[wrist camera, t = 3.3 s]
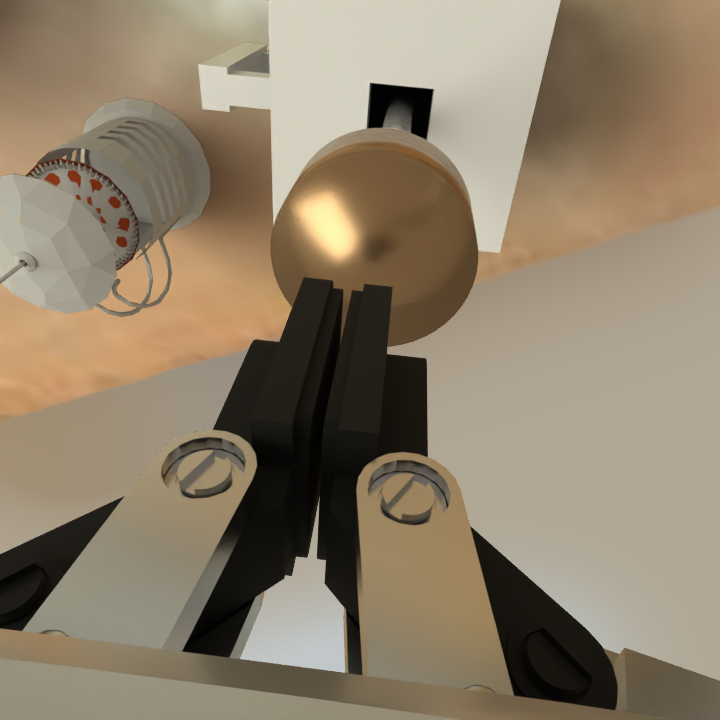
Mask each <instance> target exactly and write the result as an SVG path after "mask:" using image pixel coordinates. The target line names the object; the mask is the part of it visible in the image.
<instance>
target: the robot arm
mask: <svg viewBox="0 0 720 720" xmlns="http://www.w3.org/2000/svg"><path fill="white" fill-rule="evenodd" d="M392 290H393V287H390V286H381V285H372V284H364V288H363V291H357V290H352V293H351V297H350V302H349V307H348V311H347V316H346V321H345V325H344V330H343V335H342V340H341V327H342V311H343V294H344V292H343V289H338V288H333V280H326V279H316V278H307V277H304V278H303V280H302V283H301V286H300V288H299V291H298V294H297V296H296V299H295V302H294V304H293V307H292V310H291V312H290V315H289V318H288V320H287V323H286V326H285V328H284V331H283V334H282V336H281V339H280V342H274V341H265V340H254V341H253V342H252V344H251V345H250V348H249V350H248V352H247V355H246V357H245V359H244V361H243V363H242V366H241V368H240V370H239V373H238V375H237V377H236V379H235V381H234V383H233V386H232V388H231V390H230V392H229V395H228V397H227V399H226V402H225V404H224V406H223V408H222V410H221V413H220V415H219V417H218V419H217V422H216V424H215V426H214V428H213V430H204V431H195V432H192V433H189V434H186V435H183V436H180V437H178V438H176V439H175V440H173V441H171V442H170V443H168V444H166V445H165V446H164V447H163V448H162V449H161V450H160V451H159V452H158V453H157V454H156V456H155V457H154V458H153V460H152V461H151V462H150V464H149V465H148V466H147V467H146V469H145V470H144V471H143V473H142V474H141V475H140V477H139V478H138V479H137V481H136V482H135V483H134V485H133V486H132V487H131V488H130V490H129V491H128V492H127V494H126V495H125V496H124V497H122V498H120V499H117V500H115V501H113V502H111V503H109V504H107V505H104V506H102V507H100V508H98V509H96V510H94V511H92V512H90V513H88V514H85V515H83V516H81V517H79V518H77V519H75V520H72V521H70V522H68V523H66V524H64V525H62V526H60V527H58V528H55V529H53V530H51V531H49V532H47V533H45V534H43V535H40V536H38V537H36V538H34V539H32V540H30V541H28V542H26V543H23V544H21V545H19V546H17V547H15V548H13V549H11V550H9V551H6V552H4V553H2V554H0V720H720V681H718V680H716V679H713V678H710V677H707V676H704V675H701V674H698V673H696V672H693V671H690V670H687V669H684V668H681V667H678V666H675V665H673V664H670V663H667V662H664V661H661V660H658V659H656V658H653V657H650V656H647V655H644V654H641V653H638V652H635V651H633V650H630V649H627V648H624V649H623V650H622V652H621V653H620V654H618V653H615V652H612V651H609V650H606V649H604V648H603V647H602V646H601V645H600V644H599V642H598V641H597V640H596V639H595V638H594V637H593V636H592V635H591V634H590V632H589V631H588V630H587V629H586V628H585V627H583V626H582V625H581V624H580V623H579V622H578V621H577V620H576V619H574V618H573V617H572V616H571V615H570V614H569V613H568V612H567V611H565V610H564V609H563V608H562V607H561V606H560V605H559V604H558V603H556V602H555V601H554V600H553V599H552V598H551V597H550V596H548V595H547V594H546V593H545V592H544V591H543V590H542V589H541V588H539V587H538V586H537V585H536V584H535V583H534V582H533V581H532V580H530V579H529V578H528V577H527V576H526V575H525V574H524V573H523V572H521V571H520V570H519V569H518V568H517V567H516V566H515V565H513V564H512V563H511V562H510V561H509V560H508V559H507V558H506V557H504V556H503V555H502V554H501V553H500V552H499V551H498V550H497V549H495V548H494V547H493V546H492V545H491V544H490V543H489V542H488V541H486V540H485V539H484V538H483V537H482V536H481V535H480V534H479V533H477V532H476V531H475V530H474V529H473V528H472V527H471V526H470V524H469V520H468V516H467V513H466V509H465V505H464V501H463V497H462V493H461V490H460V488H459V486H458V483H457V481H456V479H455V478H454V476H453V475H452V474H451V473H450V472H449V471H448V470H447V469H446V468H445V467H444V466H442V465H441V464H439V463H438V462H436V461H435V460H433V459H430V458H428V450H427V449H428V445H427V443H428V440H427V361H426V359H425V358H417V357H408V356H399V355H389V354H387V345H388V334H389V323H390V312H391V301H392ZM340 343H341V344H340ZM319 496H320V502H319V524H318V525H319V526H318V546H317V559H321V560H326V571H325V584H326V586H327V587H328V588H329V589H330V591H331V592H332V593H333V594H334V595H335V597H336V598H337V599H338V600H339V602H340V603H341V604H342V605H343V606H344V617H343V618H344V647H345V673H341V672H334V671H326V670H318V669H311V668H303V667H295V666H288V665H280V664H273V663H265V662H257V661H250V660H242V659H240V657H241V654H242V652H243V649H244V647H245V645H246V642H247V640H248V637H249V635H250V633H251V630H252V628H253V625H254V623H255V620H256V618H257V616H258V613H259V611H260V608H261V605H262V601H263V597H264V591H266V590H267V589H269V588H270V587H272V586H273V585H275V584H276V583H278V582H279V581H281V580H282V579H284V576H285V575H289V576H292V573H293V568H294V563H295V558H296V556H297V557H306V558H307V556H308V553H309V548H310V543H311V537H312V532H313V527H314V522H315V517H316V511H317V506H318V501H319Z"/></svg>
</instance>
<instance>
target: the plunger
mask: <svg viewBox="0 0 720 720" xmlns="http://www.w3.org/2000/svg"><path fill="white" fill-rule="evenodd" d="M413 104H414V100H413V97H412V95H411V93H410V92H409V91H407V90H404V89H400V90H397V91H395V92H394V93H393V94H392V96H391V98H390V101H389V105H388V109H387V113H386V116H385V120H384V124H383V128H369V129H362V130H358V131H354V132H350V133H347V134H345V135H343V136H340V137H338V138H336V139H334V140H333V141H331V142H329V143H328V144H326V145H325V146H324V147H323V148H321V149H320V150H319V151H318V152H317V153H316V154H315V155H314V156H313V157H312V158H311V159H310V160H309V161H308V163H307V164H306V166H305V167H304V168H303V170H302V172H301V173H300V175H299V177H298V178H297V180H296V182H295V184H294V185H293V187H292V189H291V190H290V192H289V194H288V196H287V197H286V199H285V201H284V202H283V204H282V206H281V208H280V210H279V212H278V214H277V217H276V220H275V223H274V226H273V231H272V236H271V261H272V266H273V270H274V275H275V277H276V280H277V283H278V285H279V287H280V289H281V291H282V293H283V295H284V297H285V298H286V299H287V301H288V302H289V304H290V305H291V307H293V304H294V302H295V299H296V296H297V294H298V291H299V288H300V286H301V283H302V280H303V278H304V277H307V278H316V279H326V280H333V288H338V289H343V292H344V294H343V311H342V327H341V340H342V335H343V330H344V325H345V321H346V316H347V311H348V307H349V302H350V297H351V293H352V290H357V291H363V288H364V284H372V285H381V286H390V287H393V290H392V301H391V312H390V323H389V334H388V345H387V347H389V346H396V345H401V344H405V343H409V342H413V341H415V340H418V339H420V338H423V337H425V336H427V335H428V334H430V333H432V332H434V331H436V330H437V329H438V328H440V327H441V326H443V325H444V324H445V323H446V322H447V321H448V320H450V319H451V318H452V317H453V316H454V315H455V314H456V312H457V311H458V310H459V309H460V308H461V306H462V305H463V303H464V302H465V300H466V298H467V297H468V295H469V292H470V290H471V288H472V286H473V283H474V280H475V276H476V272H477V265H478V244H477V237H476V231H475V225H474V219H473V213H472V208H471V202H470V197H469V193H468V190H467V187H466V185H465V182H464V180H463V178H462V176H461V174H460V173H459V171H458V169H457V168H456V166H455V165H454V164H453V163H452V161H451V160H450V159H449V158H448V157H447V156H446V155H445V154H444V153H443V152H442V151H441V150H440V149H439V148H437V147H436V146H435V145H433V144H432V143H430V142H428V141H427V140H425V139H423V138H421V137H419V136H417V135H415V134H412V133H411V124H412V114H413Z"/></svg>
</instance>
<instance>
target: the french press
mask: <svg viewBox="0 0 720 720" xmlns="http://www.w3.org/2000/svg"><path fill="white" fill-rule="evenodd" d="M76 149H77V151H76V156H75V160H74V161H71V158H72V152H73V151H74V150H76ZM80 154H81V157H82V163H81V162H80ZM65 155H67V158H66V160H65V159H62V157H63V156H65ZM209 196H210V168H209V165H208V162H207V160H206V157H205V154H204V152H203V149H202V147H201V144H200V142H199V141H198V140H197V138H196V137H195V136H194V135H193V134H192V132H191V131H190V130H189V129H188V128H187V126H186V125H185V124H184V123H183V121H182V120H181V119H180V118H178V117H176V116H175V115H173V114H172V113H170V112H168V111H167V110H165V109H164V108H162V107H160V106H159V105H157V104H156V103H153V102H148V101H142V100H137V99H132V98H123V99H120V100H116V101H112V102H108V103H104V104H102V105H101V106H100V107H99V108H98V109H97V110H96V111H95V112H94V113H93V114H92V115H91V116H90V117H89V118H88V119H87V120H86V123H85V127H84V130H83V134H82V135H80V136H78V137H76V138H75V139H73V140H71V141H69V142H67V143H65V144H63V145H61V146H59V147H57V148H56V149H54V150H52V151H50V152H48V153H47V154H46V155H45V156H44V157H43V158H42V159H40V160H39V161H38V163H37V165H36V166H35V167H34V168H33V169H32V170H31V171H30V172H29V173H28V174H27V175H26V176H24V175H19V174H9V175H5V176H0V284H1V283H2V284H3V285H4V286H5V287H6V288H7V289H8V290H10V291H11V292H12V293H13V294H15V295H17V296H19V297H20V298H22V299H24V300H26V301H28V302H30V303H32V304H34V305H36V306H38V307H40V308H44V309H49V310H53V311H58V312H63V313H73V312H79V311H85V310H91V309H92V308H93V307H95V306H96V307H98V308H99V309H101V310H103V311H104V312H106V313H108V314H111V315H115V316H120V317H123V316H130V315H133V314H135V313H138V312H139V311H140V310H141V309H142V308H147V307H151V306H155V305H157V304H159V303H160V302H161V301H162V299H163V298H164V296H165V295H166V293H167V292H168V290H169V287H170V282H171V275H172V271H171V264H170V259H169V256H168V253H167V250H166V247H165V245H164V242H163V237H164V236H165V235H166V234H167V233H168V231H171V230H176V229H181V228H185V227H186V226H187V225H189V224H190V223H191V222H192V221H194V220H195V219H196V218H198V217H199V216H200V215H201V214H202V212H203V209H204V207H205V205H206V203H207V201H208V199H209ZM158 239H159V242H160V245H161V248H162V251H163V254H164V256H165V259H166V264H167V269H168V282H167V284H166V287H165V289H164V291H163V293H162V294H161V295H160V297H159V298H158V299H157V300H156V301H154V302H152V303H150V304H146V303H147V302H148V300H149V297H150V293H151V288H152V283H153V277H152V270H151V265H150V262H149V260H148V257H147V254H146V251H147V250H148V249H149V248H150V247H151V246H152V245H153V244H154V243H155V242H156V241H157V240H158ZM149 241H150V243H149V245H148V247H147V248H146V249H145V246H146V245H147V243H148V242H149ZM140 249H141V250H142V253H141V254H140V255H139V256H138V257H140V256H141V255H142V254H143V256H144V259H145V263H146V266H147V270H148V274H149V279H150V280H149V286H148V291H147V294H146V296H145V299H144V300H143V302H142V303H141V304H138V303H134V302H129V301H127V300H126V299H125V298H123V297H122V296H121V295H119V294H118V292H117V290H116V288H117V286H118V285H119V283H120V280H119V279H116V277H117V274H116V270H119V269H121V268H122V267H123V266H124V265H126V264H127V263H128V262H129V261H131V260H132V259H133V257H134V255H135V254H136V253H137V252H138V251H139V250H140ZM138 257H137V258H138ZM137 258H136V259H137ZM115 279H116V280H115ZM111 288H112V291H113V295H114V296H115V297H116V298H117V299H119V300H121V301H122V302H124V303H126V304H127V305H129V306H132V307H137V308H136V309H134V310H132V311H127V312H116V311H112V310H108V309H106V308H105V307H103V306H101V305H100V304H99V303H100V302H101V301H103V300H104V299H105V298H107V297H108V295H109V293H110V290H111Z"/></svg>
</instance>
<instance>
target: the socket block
mask: <svg viewBox="0 0 720 720" xmlns="http://www.w3.org/2000/svg"><path fill="white" fill-rule="evenodd" d="M560 1H561V0H268V23H269V51H267V45H263V44H253V43H242V44H240V45H238V46H236V47H234V48H232V49H230V50H228V51H226V52H223V53H221V54H219V55H217V56H215V57H213V58H211V59H209V60H207V61H205V62H203V63H201V64H198V67H199V78H200V89H201V100H202V109H206V110H216V111H226V112H230V111H231V110H233V109H234V108H235V107H237V106H240V107H250V108H260V109H270V110H271V150H272V193H273V226H274V223H275V220H276V217H277V214H278V212H279V210H280V208H281V206H282V204H283V202H284V201H285V199H286V197H287V196H288V194H289V192H290V190H291V189H292V187H293V185H294V184H295V182H296V180H297V178H298V177H299V175H300V173H301V172H302V170H303V168H304V167H305V166H306V164H307V163H308V161H309V160H310V159H311V158H312V157H313V156H314V155H315V154H316V153H317V152H318V151H319V150H320V149H321V148H323V147H324V146H325V145H326V144H328V143H329V142H331V141H333V140H334V139H336V138H338V137H340V136H343V135H345V134H347V133H350V132H354V131H358V130H362V129H369V128H383V124H384V120H385V116H386V113H387V109H388V105H389V101H390V98H391V96H392V94H393V93H394V92H395V91H397V90H400V89H404V90H407V91H409V92H410V93H411V95H412V97H413V100H414V104H413V114H412V124H411V133H412V134H415V135H417V136H419V137H421V138H423V139H425V140H427V141H428V142H430V143H432V144H433V145H435V146H436V147H437V148H439V149H440V150H441V151H442V152H443V153H444V154H445V155H446V156H447V157H448V158H449V159H450V160H451V161H452V163H453V164H454V165H455V166H456V168H457V169H458V171H459V173H460V174H461V176H462V178H463V180H464V182H465V185H466V187H467V190H468V193H469V197H470V202H471V208H472V213H473V219H474V225H475V231H476V237H477V244H478V251H486V252H495V253H500V249H501V245H502V241H503V237H504V233H505V228H506V224H507V220H508V216H509V212H510V208H511V204H512V200H513V195H514V191H515V187H516V183H517V179H518V175H519V171H520V166H521V162H522V158H523V154H524V150H525V146H526V142H527V138H528V133H529V129H530V125H531V121H532V117H533V113H534V109H535V105H536V100H537V96H538V92H539V88H540V84H541V80H542V76H543V72H544V67H545V63H546V59H547V55H548V51H549V47H550V43H551V38H552V34H553V30H554V26H555V22H556V18H557V14H558V10H559V5H560Z"/></svg>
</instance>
